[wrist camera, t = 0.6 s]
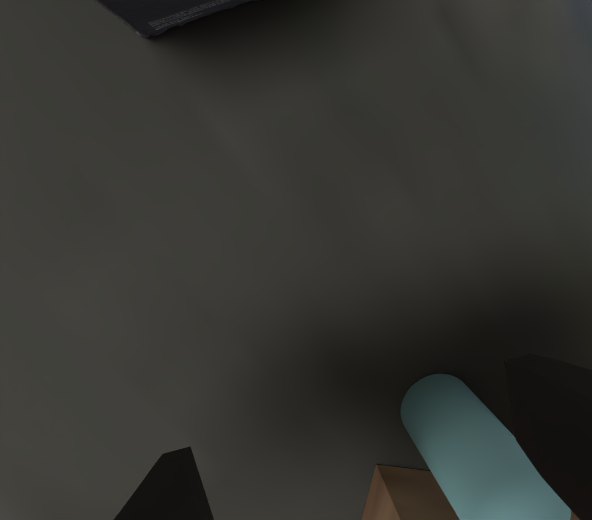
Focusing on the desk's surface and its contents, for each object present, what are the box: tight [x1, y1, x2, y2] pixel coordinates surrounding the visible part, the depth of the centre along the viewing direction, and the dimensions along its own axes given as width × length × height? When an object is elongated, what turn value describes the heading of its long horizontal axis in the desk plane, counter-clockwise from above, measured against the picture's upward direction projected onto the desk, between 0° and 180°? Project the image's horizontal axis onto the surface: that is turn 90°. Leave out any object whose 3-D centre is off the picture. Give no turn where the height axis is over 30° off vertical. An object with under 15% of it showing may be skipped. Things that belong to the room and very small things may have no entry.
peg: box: [400, 374, 571, 520], centre depth 20 cm, size 3×3×7 cm
